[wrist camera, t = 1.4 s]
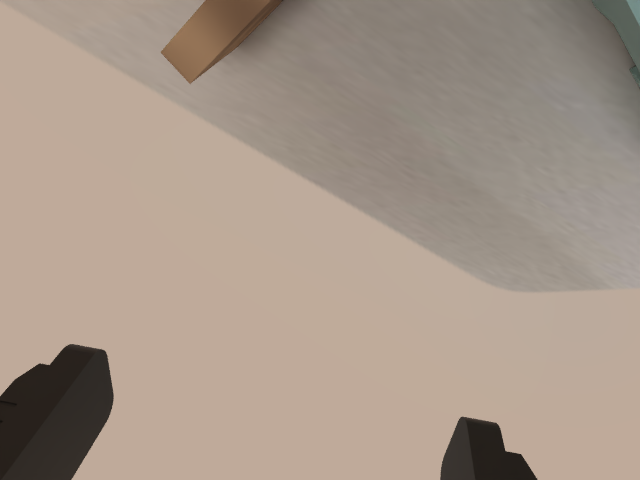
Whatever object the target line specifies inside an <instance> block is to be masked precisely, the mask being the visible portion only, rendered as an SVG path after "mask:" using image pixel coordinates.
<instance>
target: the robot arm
mask: <svg viewBox="0 0 640 480" xmlns="http://www.w3.org/2000/svg"><path fill="white" fill-rule="evenodd" d="M112 405H113V388H112V383H111V376H110V370H109V364H108V358H107V354H106V352H105V351H104V350H102V349H96V348H91V347H85V346H80V345H74V344H70V345H68V346H66V347H65V348H64V349H63V350H62V351H61V352H60V353H59V355H58V356H57V357H56V358H55V359H54V361H53V362H52V363H51V364H50V365H45V364H38V365H36V366H35V367H33V368H32V369H30V370H29V371H27V372H26V373H25V374H23V375H21V376H20V377H18V378H17V379H15V380H14V381H13V382H12V384H11V385H10V386H9V387H8V388H7V389H6V390H5V392H4V393H3V394H2V395H1V396H0V480H71V479H72V478H73V476H74V474H75V473H76V471H77V469H78V468H79V466H80V465H81V463H82V461H83V459H84V458H85V456H86V455H87V453H88V451H89V450H90V448H91V446H92V445H93V443H94V441H95V440H96V438H97V437H98V435H99V433H100V432H101V430H102V428H103V427H104V425H105V423H106V422H107V420H108V418H109V415H110V412H111V409H112ZM440 480H537V478H536V477H535V475H534V473H533V472H532V471H531V469H530V467H529V466H528V464H527V463H526V461H525V460H524V458H523V457H522V455H521V454H517V453H512V452H506V451H505V448H504V443H503V439H502V434H501V430H500V428H499V425H498V424H497V423H493V422H489V421H483V420H478V419H472V418H467V417H461V418H460V419H459V421H458V423H457V426H456V428H455V431H454V434H453V436H452V438H451V441H450V443H449V445H448V448H447V450H446V453H445V455H444V458H443V462H442V467H441V478H440Z"/></svg>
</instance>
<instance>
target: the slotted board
mask: <svg viewBox="0 0 640 480" xmlns="http://www.w3.org/2000/svg"><path fill="white" fill-rule="evenodd" d="M282 1H283V0H206V1H205V2H204V3H203V4H202V5H201V6H200V7H199V9H198V10H197V11H196V12H195V13H194V14H193V15H192V17H191V18H190V19H189V20H188V21H187V22H186V24H185V25H184V26H183V27H182V28H181V29H180V30H179V32H178V33H177V34H176V35H175V36H174V37H173V39H172V40H171V41H170V42H169V43H168V44H167V45H166V47H165V48H164V49H163V50H162V51H161V53H162V54H163V55H164V57H165V58H166V59H167V60H168V61H169V62H170V63H171V64H172V65H173V66H174V67H175V68H176V69H177V70H178V72H179V73H180V74H181V75H182V76H183V77H184V78H185V79H186V80H187V81H188V82H189V83H192V82H193V81H194V80H195V79H197V78H198V77H199V76H201V75H202V74H203V73H204V72H206V71H207V70H208V69H210V68H211V67H212V66H213V65H215V64H216V63H217V62H219V61H220V60H221V59H222V58H224V57H225V56H226V55H227V54H229V53H230V52H231V51H233V50H234V49H235V48H236V47H238V46H239V45H240V44H241V43H242V42H243V40H244V39H245V38H246V37H247V36H248V35H249V34H250V33H251V32H252V31H253V30H254V29H255V28H256V27H257V26H258V25H259V24H260V23H261V22H262V21H263V20H264V19H265V18H266V17H267V16H268V15H269V14H270V13H271V12H272V11H273V10H274V9H275V8H276V7H277V6H278V5H279V4H280V3H281V2H282Z"/></svg>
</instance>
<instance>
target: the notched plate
mask: <svg viewBox="0 0 640 480" xmlns="http://www.w3.org/2000/svg"><path fill="white" fill-rule="evenodd" d="M592 2H593V4H594V6H595V8H596V9H597V10H599V11H600V12H601V13H602V14H603V15H604V16H605V17H606V18H607V19H609V20H610V21H611V22H612V23H613V24H614V26H615V28H616V30H617V32H618V33H619V35H620V37H621V39H622V41H623V43H624V44H625V46H626V48H627V50H628V52H629V54H630V56H631V57H632V59H633V61H634V63H635V65H636V66H635V67H633V68H631V69H629V70H630V71H631V73H632V75H633V77H634V79H635V81H636V82H637V84H638V86H639V88H640V0H592Z"/></svg>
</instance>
